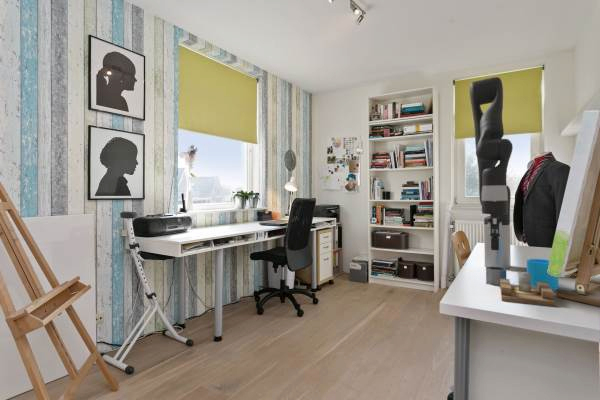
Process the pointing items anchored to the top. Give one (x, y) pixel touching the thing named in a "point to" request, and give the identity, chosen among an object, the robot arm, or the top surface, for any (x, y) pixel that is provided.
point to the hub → (495, 275)
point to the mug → (541, 273)
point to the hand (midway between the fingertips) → (494, 248)
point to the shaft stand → (527, 291)
